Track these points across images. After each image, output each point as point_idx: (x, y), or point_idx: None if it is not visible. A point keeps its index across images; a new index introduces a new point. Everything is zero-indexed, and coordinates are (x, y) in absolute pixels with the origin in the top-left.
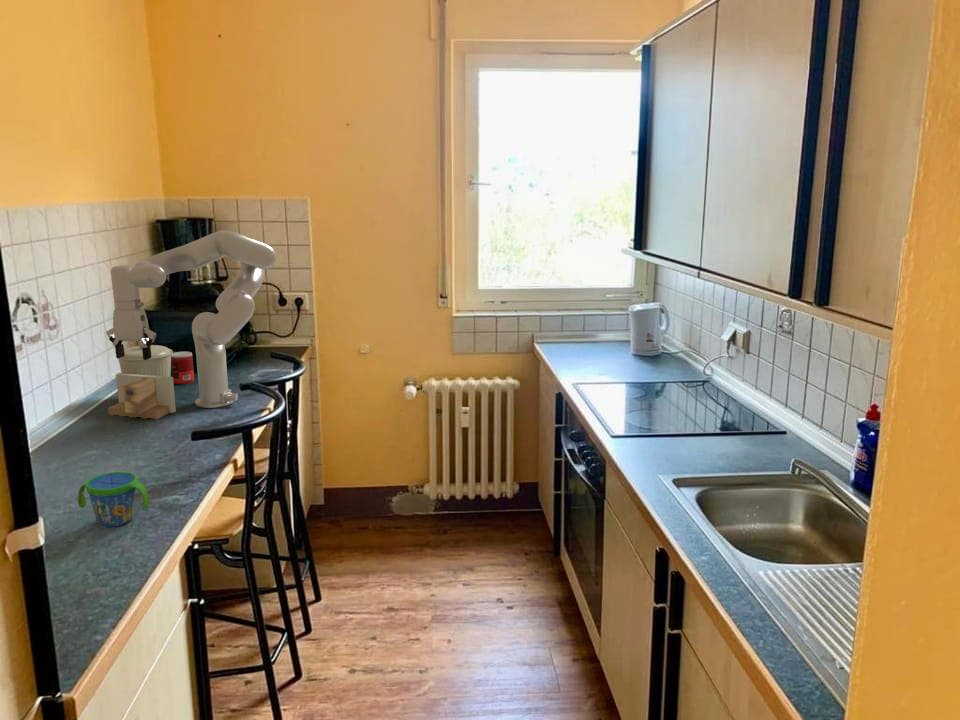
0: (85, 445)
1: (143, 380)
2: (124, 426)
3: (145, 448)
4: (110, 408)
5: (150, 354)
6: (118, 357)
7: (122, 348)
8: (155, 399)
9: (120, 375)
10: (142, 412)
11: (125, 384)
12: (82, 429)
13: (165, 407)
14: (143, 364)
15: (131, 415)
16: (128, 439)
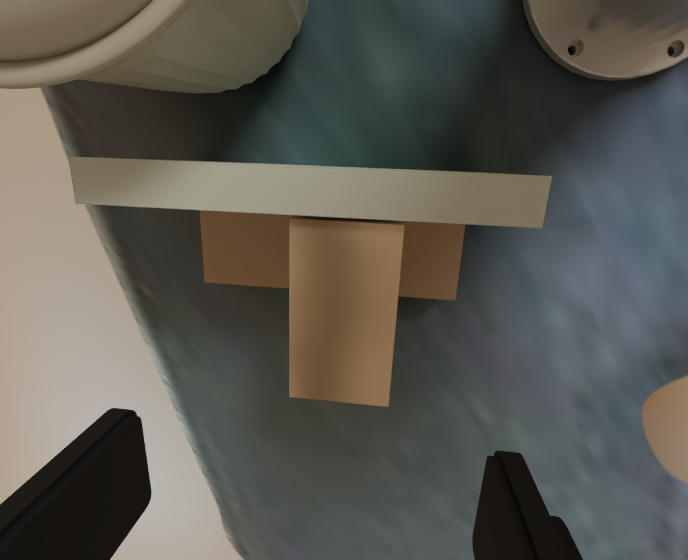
0: (358, 540)
1: (347, 273)
2: None
3: None
4: (217, 282)
5: (564, 543)
6: (145, 502)
7: (62, 517)
8: None
9: (117, 205)
10: None
11: (292, 376)
12: (245, 425)
13: (461, 229)
14: (171, 33)
15: None
16: (461, 489)
